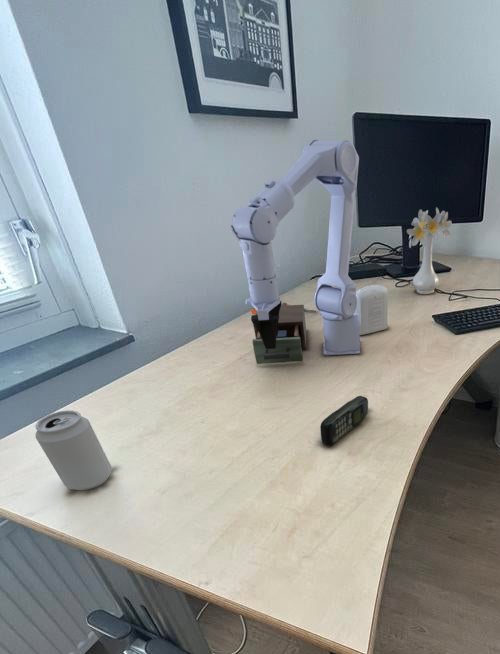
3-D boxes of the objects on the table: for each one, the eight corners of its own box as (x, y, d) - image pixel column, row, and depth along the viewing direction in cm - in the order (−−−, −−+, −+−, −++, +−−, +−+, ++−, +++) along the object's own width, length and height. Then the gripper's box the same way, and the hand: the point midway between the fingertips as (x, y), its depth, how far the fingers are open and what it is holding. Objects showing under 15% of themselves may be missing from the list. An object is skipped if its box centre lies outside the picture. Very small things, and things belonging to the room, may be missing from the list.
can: (77, 467, 77) (44, 408, 70) (120, 464, 78) (92, 405, 70) (57, 495, 71) (19, 434, 64) (104, 492, 72) (71, 431, 64)
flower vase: (400, 298, 148) (403, 214, 133) (414, 283, 162) (418, 205, 146) (438, 302, 145) (445, 215, 129) (449, 286, 158) (457, 206, 142)
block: (288, 345, 113) (286, 330, 111) (288, 351, 110) (285, 336, 108) (273, 346, 113) (270, 331, 111) (272, 352, 110) (269, 336, 107)
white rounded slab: (381, 325, 129) (381, 281, 121) (389, 329, 126) (390, 284, 119) (352, 332, 125) (350, 287, 117) (360, 337, 122) (358, 291, 114)
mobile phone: (329, 427, 77) (374, 391, 87) (315, 422, 79) (361, 387, 88) (331, 449, 81) (374, 412, 90) (318, 445, 82) (362, 408, 91)
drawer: (302, 368, 105) (299, 345, 101) (254, 371, 104) (250, 348, 100) (303, 342, 118) (301, 320, 114) (261, 344, 117) (257, 322, 113)
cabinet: (305, 350, 116) (302, 321, 111) (258, 352, 115) (253, 323, 110) (306, 331, 126) (303, 304, 121) (262, 333, 125) (258, 306, 121)
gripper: (245, 268, 93) (257, 330, 102) (236, 287, 82) (250, 356, 90) (278, 266, 93) (287, 329, 102) (274, 286, 82) (284, 354, 91)
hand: (272, 341), depth 96 cm, fingers open, 6 cm apart
